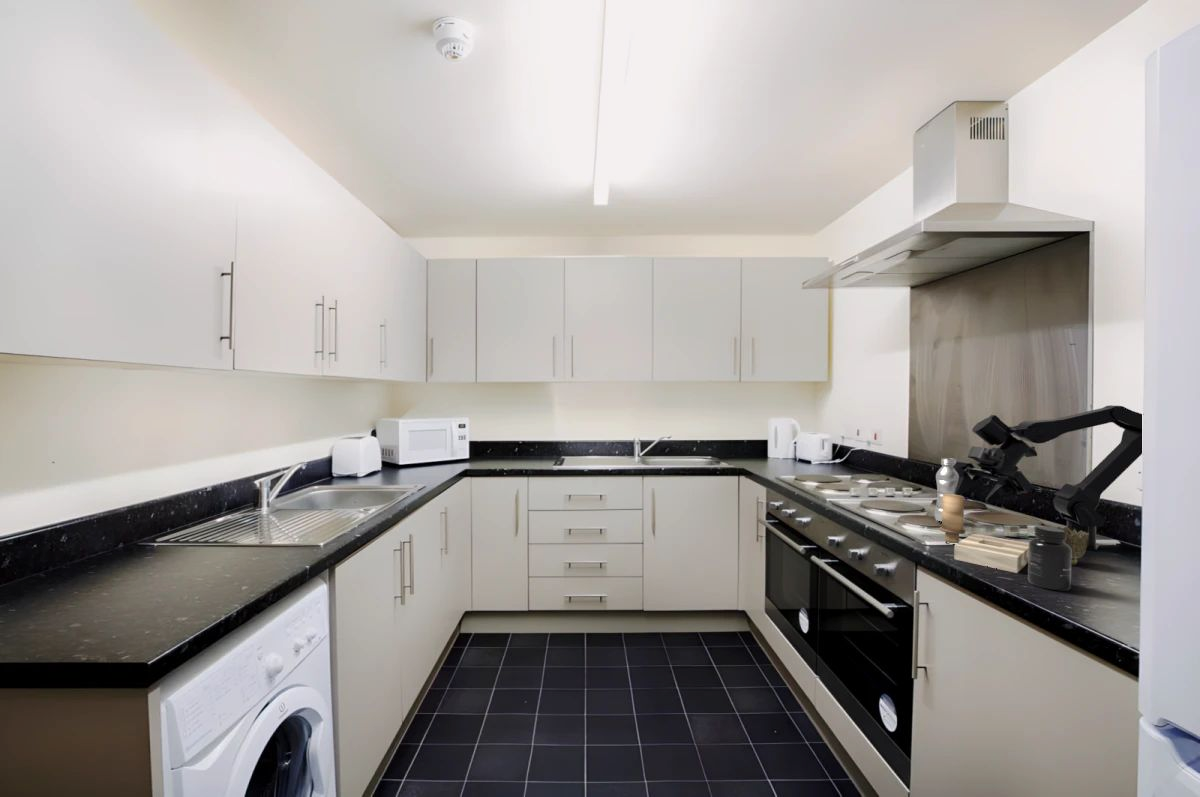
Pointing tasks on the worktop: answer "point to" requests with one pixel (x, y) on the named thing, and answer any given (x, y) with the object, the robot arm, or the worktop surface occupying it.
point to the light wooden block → (992, 552)
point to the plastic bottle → (945, 483)
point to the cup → (1076, 543)
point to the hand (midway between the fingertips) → (970, 498)
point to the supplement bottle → (1050, 559)
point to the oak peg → (952, 517)
